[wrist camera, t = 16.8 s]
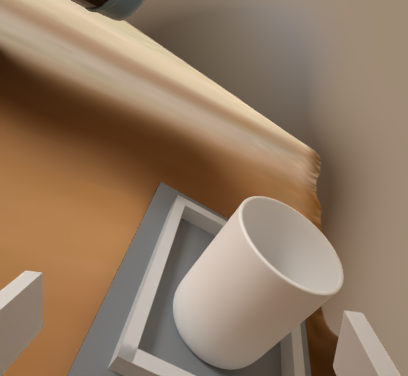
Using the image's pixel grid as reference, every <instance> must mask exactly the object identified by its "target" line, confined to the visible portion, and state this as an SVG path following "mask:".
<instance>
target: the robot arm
mask: <svg viewBox="0 0 408 376" xmlns="http://www.w3.org/2000/svg"><path fill="white" fill-rule="evenodd" d="M71 1H73V2H75V3H77V4H79V5H81V6H83V7H85V8H86V9H87V10H89V11H91V12H97V13H100V14H102V15H104V16H106V17H109V18H111V19H113V20H117V21H121V20H125V19H128V18H129V17H131V16H132V15H133V14H134V13H135V12H136V11H137V10H138V9H139V7H140V6H141V5H142V3H143V2H144V0H71ZM42 328H43V282H42V273H41V272H33V271H24V272H23V273H22V274H21V275H20V276H18V277H17V278H16V279H15V280H13V281H12V282H11V283H10V284H8V285H7V286H6V287H5V288H3V289H2V290H1V291H0V376H2V375H3V374H4V373H5V372H6V370H7V369H8V368H9V367H10V366H11V365H12V363H13V362H14V361H15V360H16V359H17V358H18V356H19V355H20V354H21V353H22V352H23V351H24V349H25V348H26V347H27V346H28V345H29V343H30V342H31V341H32V340H33V339H34V338H35V336H36V335H37V334H38V333H39V332H40V331H41V329H42ZM333 368H334V371H335V374H336V376H401V375H400V373H399V372H398V370H397V369H396V367H395V365H394V363H393V362H392V360H391V358H390V357H389V355H388V354H387V352H386V350H385V349H384V347H383V345H382V344H381V342H380V341H379V339H378V337H377V335H376V334H375V332H374V331H373V329H372V327H371V326H370V324H369V322H368V321H367V320H366V318H365V316H364V314H363V313H361V312H353V311H345V310H344V313H343V318H342V323H341V329H340V334H339V338H338V343H337V348H336V353H335V358H334V363H333Z"/></svg>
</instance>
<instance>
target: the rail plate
mask: <svg viewBox="0 0 408 376" xmlns="http://www.w3.org/2000/svg"><path fill="white" fill-rule="evenodd" d="M228 220H229V219H228V218H226V217H224V216H223V215H221V214H219V213H217V212H215V211H214V210H212V209H210V208H208V207H206V206H204V205H203V204H201V203H199V202H197V201H195V200H194V199H192V198H190V197H188V196H186V195H184V194H183V193H181V192H179V191H177V190H175V189H173V188H172V187H170V186H168V185H166V184H164V183H163V182H161V183H160V184H159V186H158V188H157V190H156V192H155V194H154V196H153V198H152V200H151V202H150V204H149V206H148V209H147V211H146V213H145V215H144V217H143V219H142V221H141V223H140V225H139V227H138V229H137V231H136V233H135V236H134V238H133V240H132V242H131V244H130V246H129V248H128V250H127V252H126V254H125V256H124V258H123V260H122V262H121V265H120V267H119V269H118V271H117V273H116V275H115V277H114V279H113V281H112V283H111V285H110V287H109V289H108V292H107V294H106V296H105V298H104V300H103V302H102V304H101V306H100V308H99V310H98V312H97V314H96V316H95V318H94V321H93V323H92V325H91V327H90V329H89V331H88V333H87V335H86V337H85V339H84V341H83V343H82V345H81V348H80V350H79V352H78V354H77V356H76V358H75V360H74V362H73V364H72V366H71V368H70V370H69V372H68V374H67V376H311V368H310V359H309V350H308V342H307V333H306V324H305V320H304V321H303V322H302V323H301V324H299V325H298V326H297V327H296V328H295V329H293V330H292V331H291V332H290V333H289V334H288V335H286V336H285V337H284V338H283V339H282V340H280V341H279V342H278V343H277V344H276V345H275V346H273V347H272V348H271V349H270V350H269V351H267V352H266V353H265V354H264V355H263V356H262V357H260V358H259V359H258V360H256V361H255V362H254V363H252V364H251V365H249V366H247V367H244V368H241V369H235V370H228V369H222V368H218V367H215V366H212V365H210V364H208V363H206V362H205V361H203V360H202V359H200V358H199V357H198V356H196V355H195V354H194V353H193V352H192V351H191V350H190V349H189V348H188V346H187V345H186V344H185V342H184V341H183V339H182V338H181V336H180V334H179V332H178V330H177V327H176V324H175V321H174V316H173V299H174V295H175V292H176V290H177V288H178V286H179V284H180V283H181V281H182V280H183V278H184V277H185V275H186V274H187V273H188V272H189V270H190V269H191V268H192V266H193V265H194V264H195V263H196V261H197V260H198V259H199V257H200V256H201V255H202V254H203V252H204V251H205V250H206V248H207V247H208V246H209V245H210V243H211V242H212V241H213V239H214V238H215V237H216V236H217V234H218V233H219V232H220V230H221V229H222V228H223V227H224V225H225V224H226V223H227V221H228Z"/></svg>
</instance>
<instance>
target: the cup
mask: <svg viewBox="0 0 408 376" xmlns="http://www.w3.org/2000/svg"><path fill="white" fill-rule="evenodd" d="M343 281H344V273H343V268H342V265H341V262H340V259H339V257H338V255H337V254H336V252H335V250H334V248H333V247H332V245H331V244H330V242H329V241H328V240H327V238H326V237H325V236H324V235H323V234H322V232H321V231H320V230H319V229H318V228H317V227H316V226H315V225H314V224H313V223H312V222H310V221H309V220H308V219H307V218H306V217H304V216H303V215H302V214H301V213H299V212H298V211H296V210H295V209H293V208H292V207H290V206H288V205H286V204H284V203H282V202H280V201H278V200H275V199H272V198H269V197H264V196H253V197H250V198H247V199H246V200H244V201H243V202H242V203H241V205H240V206H239V207H238V209H237V210H236V211H235V212H234V214H233V215H232V216H231V218H230V219H229V220H228V221H227V223H226V224H225V225H224V227H223V228H222V229H221V230H220V232H219V233H218V234H217V236H216V237H215V238H214V239H213V241H212V242H211V243H210V245H209V246H208V247H207V248H206V250H205V251H204V252H203V254H202V255H201V256H200V257H199V259H198V260H197V261H196V263H195V264H194V265H193V266H192V268H191V269H190V270H189V272H188V273H187V274H186V275H185V277H184V278H183V280H182V281H181V283H180V284H179V286H178V288H177V290H176V292H175V295H174V299H173V316H174V321H175V324H176V327H177V330H178V332H179V334H180V336H181V338H182V339H183V341H184V342H185V344H186V345H187V346H188V348H189V349H190V350H191V351H192V352H193V353H194V354H195V355H196V356H198V357H199V358H200V359H202V360H203V361H205V362H206V363H208V364H210V365H212V366H215V367H218V368H222V369H228V370H235V369H241V368H244V367H247V366H249V365H251V364H252V363H254V362H255V361H256V360H258V359H259V358H260V357H262V356H263V355H264V354H265V353H266V352H267V351H269V350H270V349H271V348H272V347H273V346H275V345H276V344H277V343H278V342H279V341H280V340H282V339H283V338H284V337H285V336H286V335H288V334H289V333H290V332H291V331H292V330H293V329H295V328H296V327H297V326H298V325H299V324H301V323H302V322H303V321H304V320H305V319H306V318H308V317H309V316H310V315H311V314H312V313H314V312H315V311H316V310H317V309H318V308H319V307H321V306H322V305H323V304H324V303H325V302H326V301H327V300H329V299H330V298H331V297H332V296H334V295H335V294H336V293H337V292H338V291H339V290H340V289H341V287H342V285H343Z"/></svg>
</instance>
